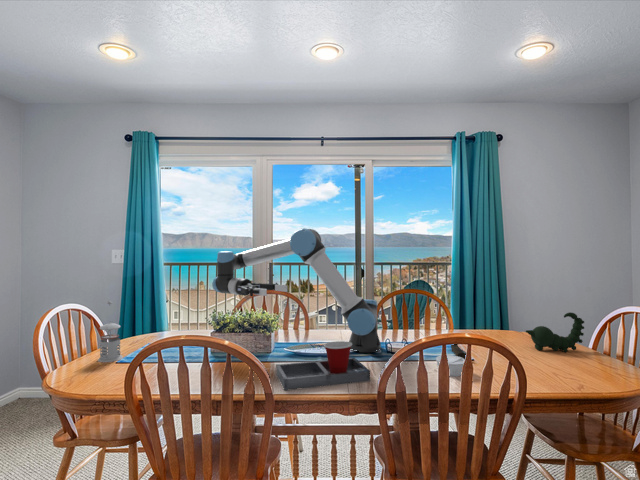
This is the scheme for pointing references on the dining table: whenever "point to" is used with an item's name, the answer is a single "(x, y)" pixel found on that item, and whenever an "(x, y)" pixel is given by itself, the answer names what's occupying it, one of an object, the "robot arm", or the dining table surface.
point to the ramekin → (453, 364)
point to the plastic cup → (338, 355)
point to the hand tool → (458, 351)
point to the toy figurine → (557, 336)
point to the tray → (319, 374)
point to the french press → (110, 343)
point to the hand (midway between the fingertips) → (276, 290)
